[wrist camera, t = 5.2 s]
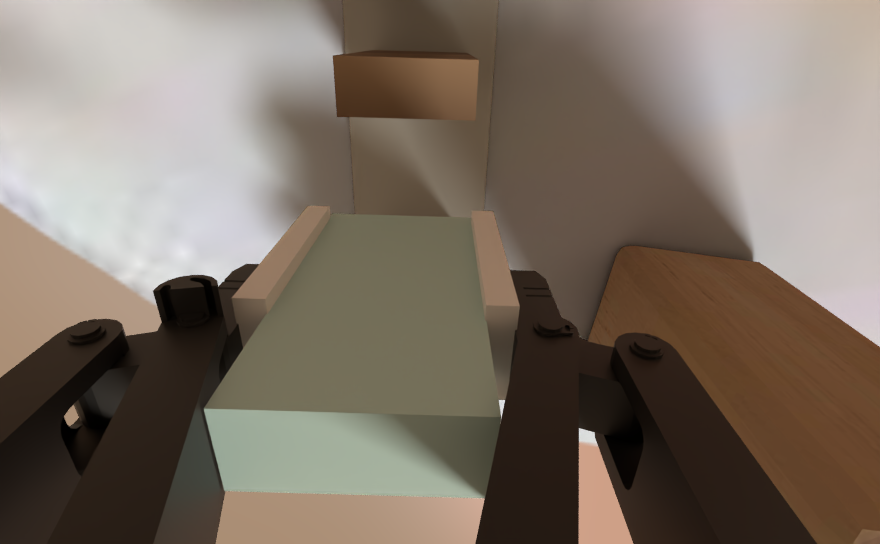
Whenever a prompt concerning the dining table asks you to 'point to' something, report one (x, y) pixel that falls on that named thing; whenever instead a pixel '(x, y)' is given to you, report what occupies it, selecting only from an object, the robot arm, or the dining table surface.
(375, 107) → the domino
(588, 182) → the dining table surface
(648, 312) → the block
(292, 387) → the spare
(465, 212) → the runner
